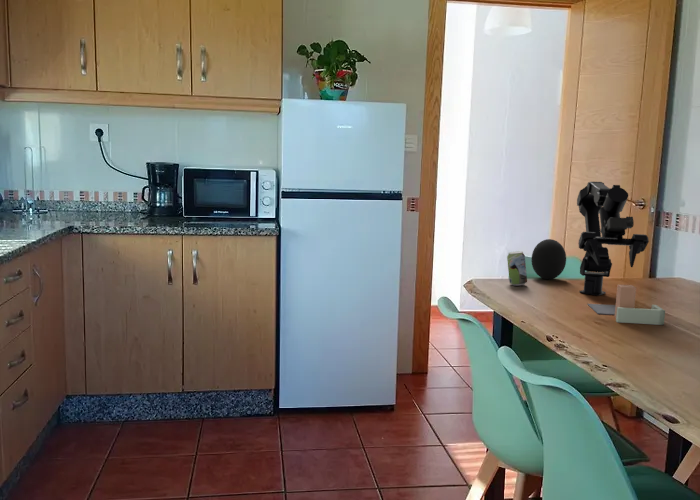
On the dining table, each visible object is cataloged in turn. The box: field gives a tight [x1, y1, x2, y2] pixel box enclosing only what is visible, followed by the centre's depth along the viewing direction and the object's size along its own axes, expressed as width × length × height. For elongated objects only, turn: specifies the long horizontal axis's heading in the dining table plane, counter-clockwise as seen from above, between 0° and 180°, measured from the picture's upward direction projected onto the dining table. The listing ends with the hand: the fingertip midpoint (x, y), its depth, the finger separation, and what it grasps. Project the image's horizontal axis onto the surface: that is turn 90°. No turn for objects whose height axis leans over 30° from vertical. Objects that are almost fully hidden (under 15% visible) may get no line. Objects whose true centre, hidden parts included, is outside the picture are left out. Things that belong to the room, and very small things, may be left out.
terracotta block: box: [614, 284, 637, 319], centre depth 173 cm, size 4×4×10 cm
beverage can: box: [506, 250, 528, 286], centre depth 217 cm, size 6×7×12 cm
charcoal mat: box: [587, 303, 616, 316], centre depth 184 cm, size 12×12×1 cm
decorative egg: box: [530, 238, 567, 280], centre depth 229 cm, size 12×12×15 cm
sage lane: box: [615, 304, 666, 326], centre depth 172 cm, size 7×12×4 cm, turn 83°
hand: (615, 265), depth 180 cm, fingers open, 9 cm apart
